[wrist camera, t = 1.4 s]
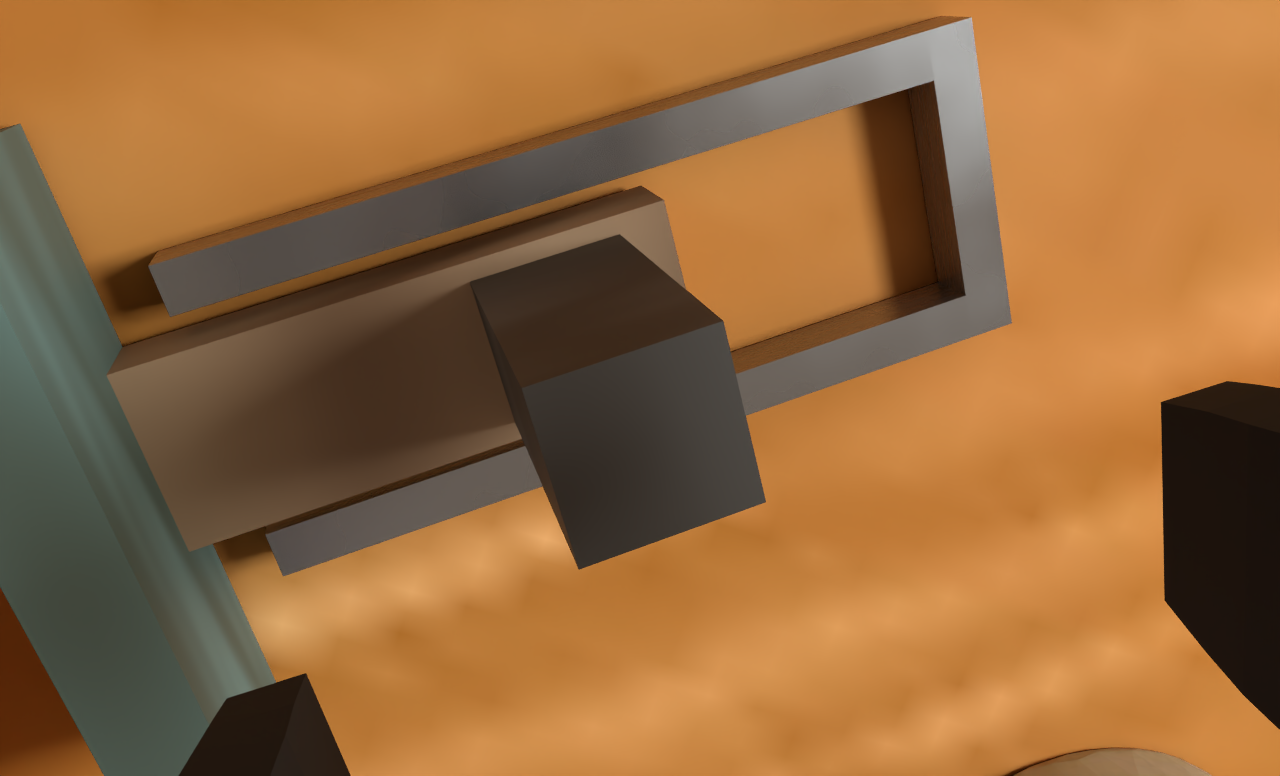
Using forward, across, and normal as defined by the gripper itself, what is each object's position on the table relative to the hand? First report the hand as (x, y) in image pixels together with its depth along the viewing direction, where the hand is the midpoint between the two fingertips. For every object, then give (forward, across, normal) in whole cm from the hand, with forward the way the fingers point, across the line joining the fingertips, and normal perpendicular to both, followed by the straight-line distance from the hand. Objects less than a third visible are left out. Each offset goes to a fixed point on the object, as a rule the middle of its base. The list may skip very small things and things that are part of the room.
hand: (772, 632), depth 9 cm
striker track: (+11, 0, +1) cm, 11 cm away
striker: (+11, +3, +1) cm, 11 cm away
